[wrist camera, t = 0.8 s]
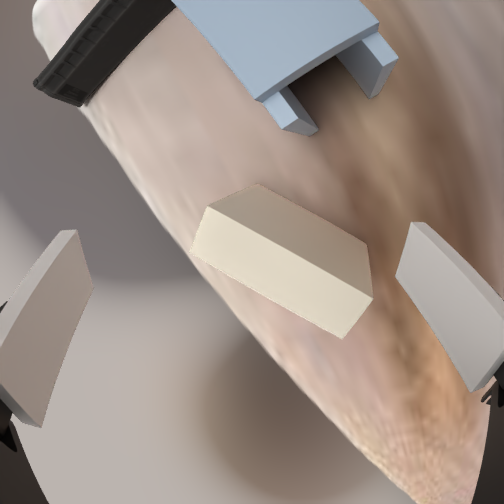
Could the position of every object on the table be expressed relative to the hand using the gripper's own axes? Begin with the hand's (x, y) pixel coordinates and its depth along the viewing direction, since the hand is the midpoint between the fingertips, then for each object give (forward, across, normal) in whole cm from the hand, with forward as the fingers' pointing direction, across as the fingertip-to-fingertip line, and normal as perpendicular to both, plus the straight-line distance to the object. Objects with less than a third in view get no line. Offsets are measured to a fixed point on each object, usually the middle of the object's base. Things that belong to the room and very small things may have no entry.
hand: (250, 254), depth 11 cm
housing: (+22, +7, +9) cm, 24 cm away
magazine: (+31, -10, +16) cm, 36 cm away
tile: (+18, +7, -8) cm, 21 cm away
